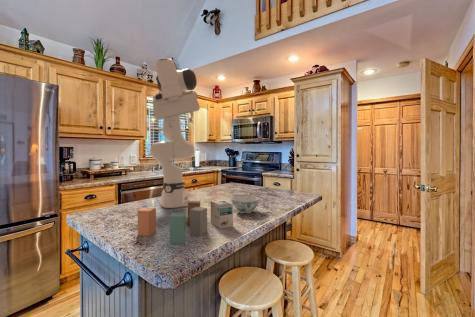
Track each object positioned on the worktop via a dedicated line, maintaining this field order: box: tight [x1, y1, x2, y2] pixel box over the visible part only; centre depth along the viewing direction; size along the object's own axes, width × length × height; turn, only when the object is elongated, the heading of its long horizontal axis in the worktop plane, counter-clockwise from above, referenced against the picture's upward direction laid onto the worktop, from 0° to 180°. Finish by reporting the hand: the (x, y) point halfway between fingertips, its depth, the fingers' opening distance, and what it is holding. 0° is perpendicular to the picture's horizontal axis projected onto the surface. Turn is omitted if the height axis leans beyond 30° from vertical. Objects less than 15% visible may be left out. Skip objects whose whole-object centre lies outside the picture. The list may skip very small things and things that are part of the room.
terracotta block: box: [137, 206, 157, 237], centre depth 96 cm, size 5×5×10 cm
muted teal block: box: [169, 212, 187, 245], centre depth 88 cm, size 5×5×10 cm
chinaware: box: [231, 195, 260, 214], centre depth 128 cm, size 15×15×8 cm
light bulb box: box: [210, 198, 234, 230], centre depth 107 cm, size 11×7×11 cm, turn 30°
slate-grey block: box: [189, 206, 208, 237], centre depth 97 cm, size 5×5×10 cm
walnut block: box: [187, 200, 201, 226], centre depth 109 cm, size 5×5×10 cm
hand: (181, 124), depth 106 cm, fingers open, 8 cm apart
